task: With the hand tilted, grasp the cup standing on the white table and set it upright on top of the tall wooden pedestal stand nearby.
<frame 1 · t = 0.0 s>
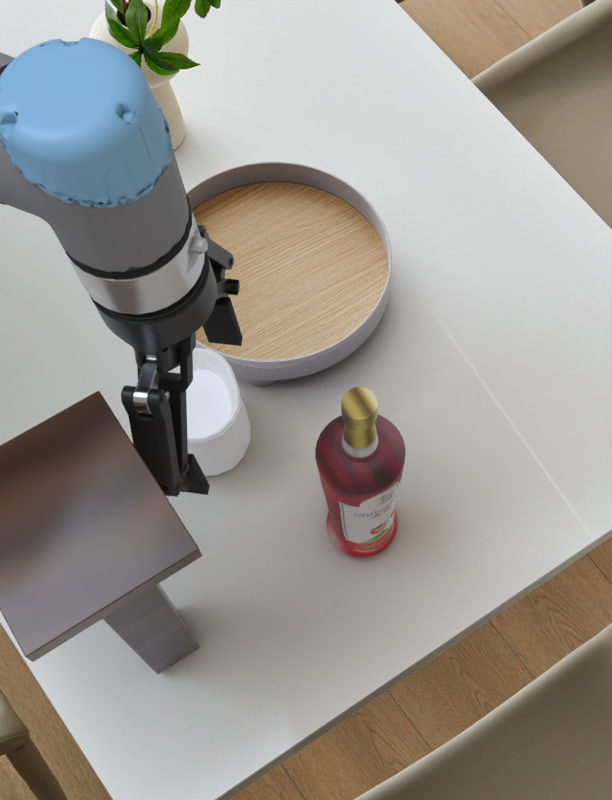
hand: (209, 411, 81), 21 cm above the table, tool pointing down, fingers open, 12 cm apart
cup: (207, 435, 103), on the table
wooden pedestal stand: (64, 515, 62), on the table
liquor: (362, 527, 99), on the table
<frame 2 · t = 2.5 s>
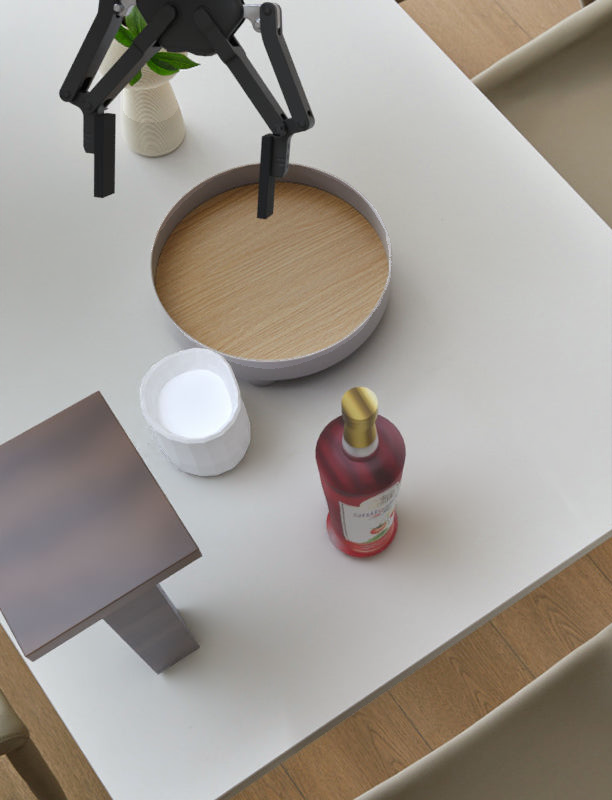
hand: (184, 206, 84), 25 cm above the table, tool tilted 45°, fingers open, 13 cm apart
nothing on the table moved.
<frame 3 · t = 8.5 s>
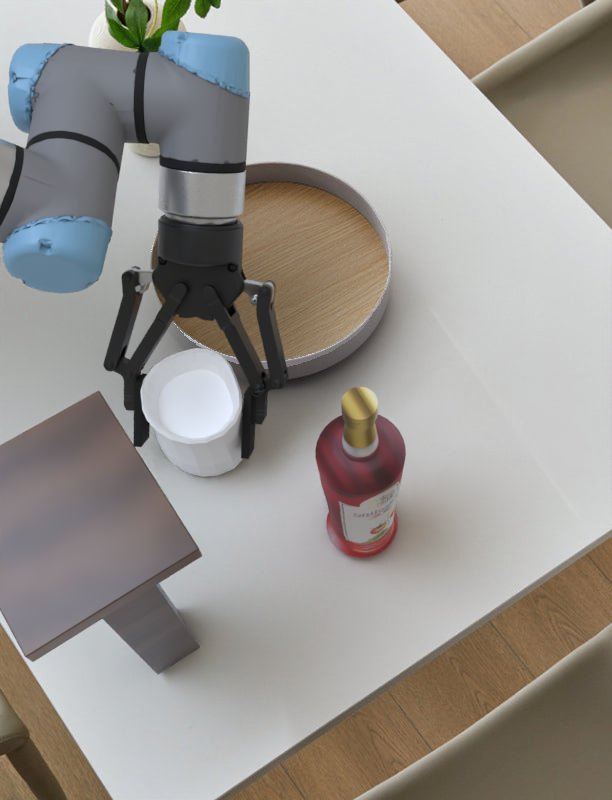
hand: (194, 447, 98), 4 cm above the table, tool tilted 45°, fingers closed on cup, 10 cm apart
cup: (208, 435, 103), on the table, touching gripper
everything else where it was.
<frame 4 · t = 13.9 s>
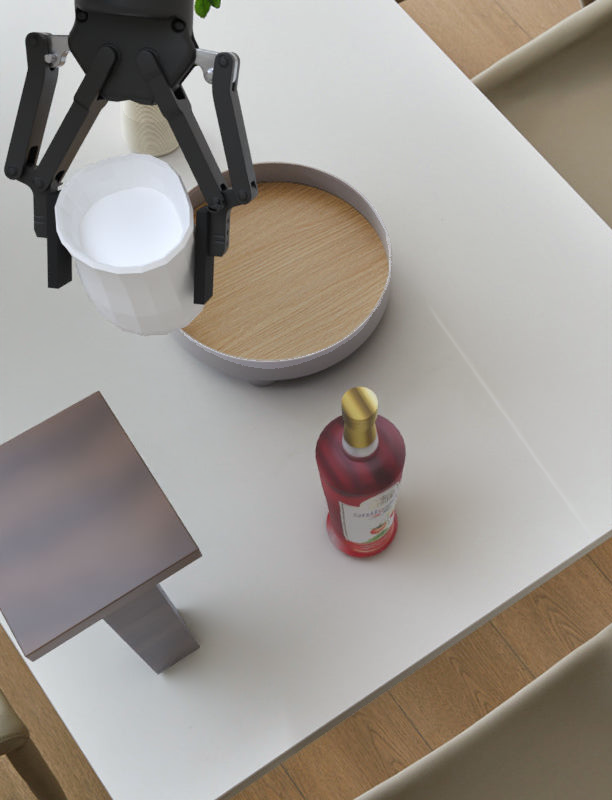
hand: (131, 291, 73), 32 cm above the table, tool tilted 45°, fingers closed on cup, 10 cm apart
cup: (153, 286, 78), point 28 cm above the table, touching gripper
everything else where it was.
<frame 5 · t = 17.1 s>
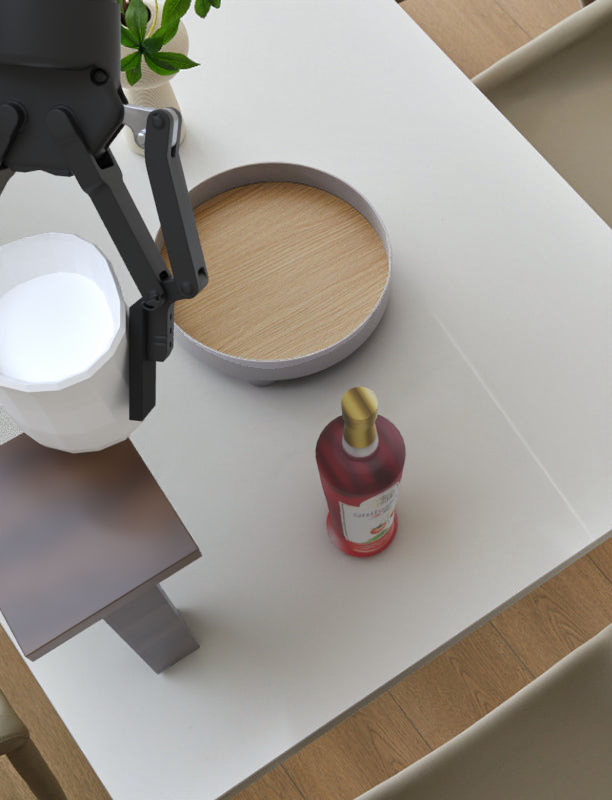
hand: (53, 403, 58), 42 cm above the table, tool tilted 45°, fingers closed on cup, 10 cm apart
cup: (86, 387, 63), point 38 cm above the table, touching gripper
everything else where it was.
when the fingers open (39 cm above the table, at t = 19.5 s): cup stays where it is, resting on wooden pedestal stand.
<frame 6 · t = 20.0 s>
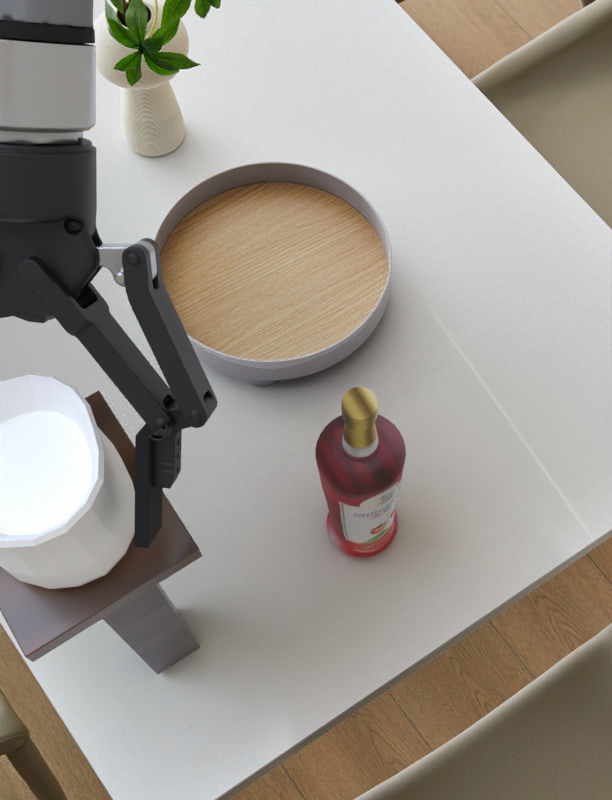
hand: (27, 523, 57), 40 cm above the table, tool tilted 45°, fingers open, 13 cm apart
cup: (68, 516, 62), point 35 cm above the table, touching wooden pedestal stand
everything else where it was.
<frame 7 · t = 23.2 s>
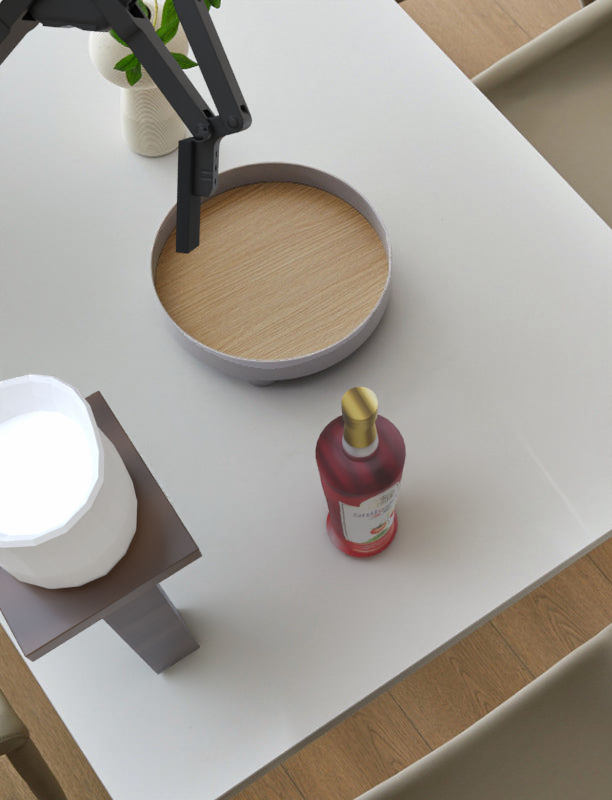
hand: (77, 237, 62), 43 cm above the table, tool tilted 45°, fingers open, 13 cm apart
nothing on the table moved.
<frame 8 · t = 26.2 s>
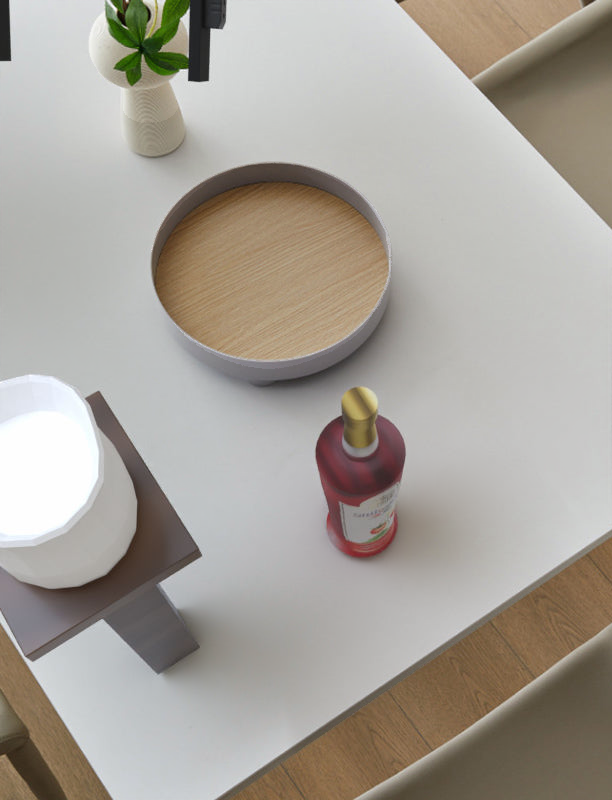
hand: (97, 71, 68), 43 cm above the table, tool tilted 45°, fingers open, 13 cm apart
nothing on the table moved.
at the end: cup inside the target area on the wooden pedestal stand (0.2 cm from its centre), point 0.0 cm above the wooden pedestal stand's base; cup tilted 0°; the gripper is holding nothing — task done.
